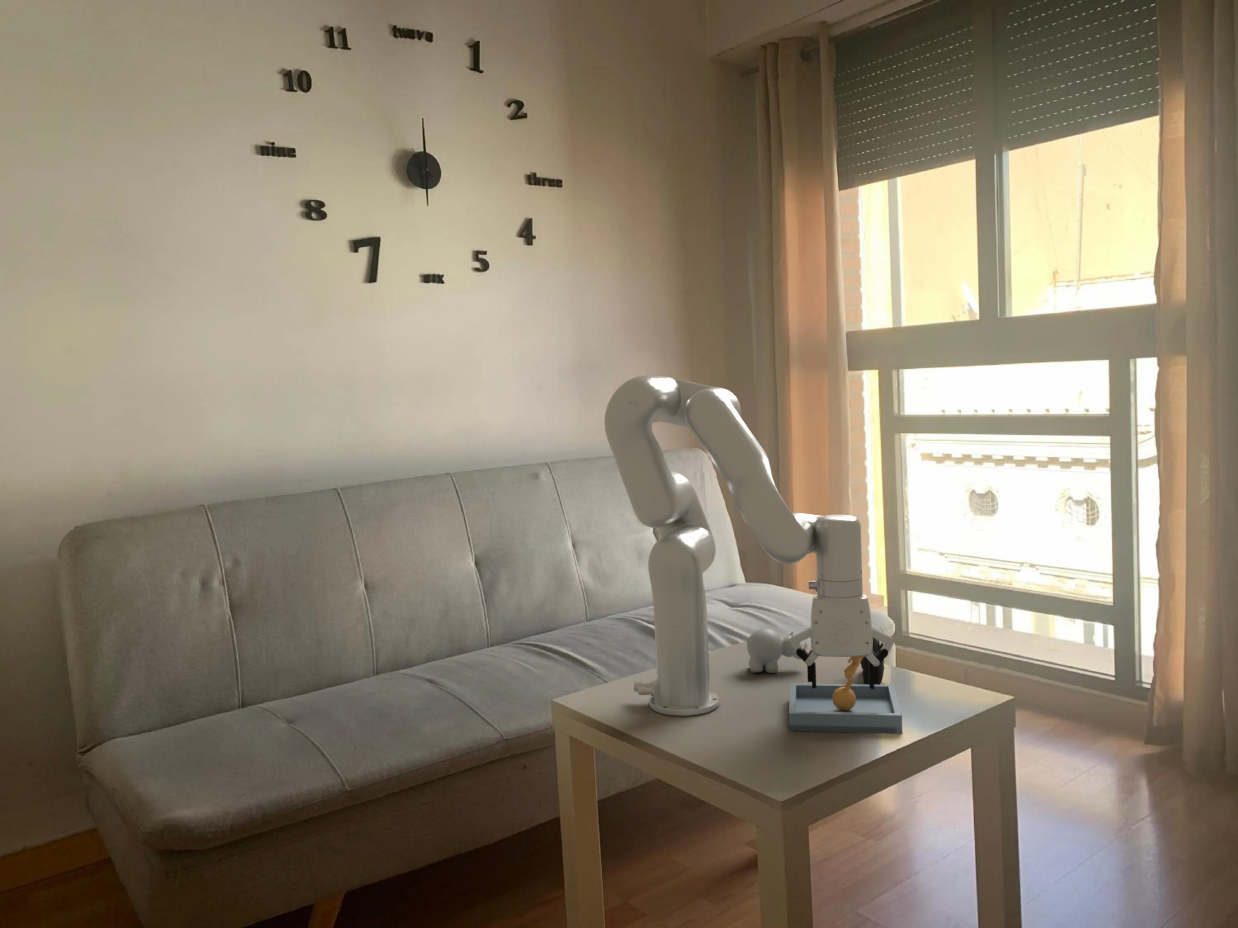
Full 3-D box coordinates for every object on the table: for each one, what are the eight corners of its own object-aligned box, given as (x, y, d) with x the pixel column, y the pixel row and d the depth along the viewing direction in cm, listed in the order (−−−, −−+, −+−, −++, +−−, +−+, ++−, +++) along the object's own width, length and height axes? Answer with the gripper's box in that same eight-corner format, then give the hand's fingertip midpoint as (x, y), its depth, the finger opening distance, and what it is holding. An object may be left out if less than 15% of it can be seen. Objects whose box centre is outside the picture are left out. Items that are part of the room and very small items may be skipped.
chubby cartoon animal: (809, 675, 190) (808, 632, 189) (747, 676, 191) (746, 633, 191) (806, 664, 197) (805, 623, 196) (747, 665, 199) (745, 624, 198)
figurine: (831, 702, 171) (829, 635, 170) (866, 702, 170) (864, 634, 169) (833, 718, 163) (831, 648, 162) (870, 718, 162) (868, 647, 161)
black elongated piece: (891, 692, 177) (890, 639, 177) (857, 692, 179) (855, 639, 178) (886, 670, 191) (884, 620, 190) (854, 669, 192) (853, 620, 192)
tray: (789, 730, 160) (788, 713, 160) (791, 699, 176) (790, 683, 176) (902, 733, 157) (901, 715, 157) (893, 701, 173) (893, 684, 172)
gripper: (787, 593, 163) (791, 692, 164) (894, 592, 159) (897, 694, 161) (788, 583, 170) (791, 679, 171) (890, 583, 167) (893, 680, 168)
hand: (842, 686), depth 166 cm, fingers open, 9 cm apart
